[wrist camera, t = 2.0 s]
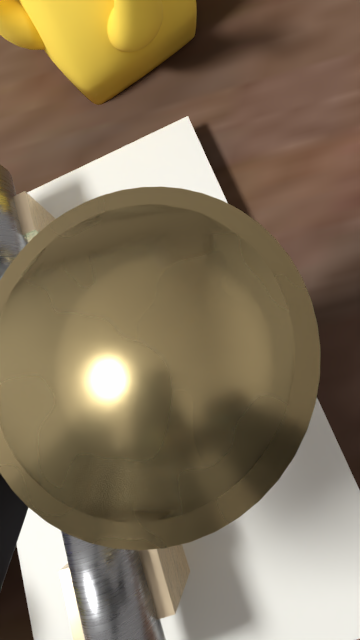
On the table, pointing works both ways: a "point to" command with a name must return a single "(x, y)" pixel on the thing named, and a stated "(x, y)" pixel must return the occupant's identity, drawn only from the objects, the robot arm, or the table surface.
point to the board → (254, 525)
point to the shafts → (86, 558)
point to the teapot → (101, 37)
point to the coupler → (152, 368)
